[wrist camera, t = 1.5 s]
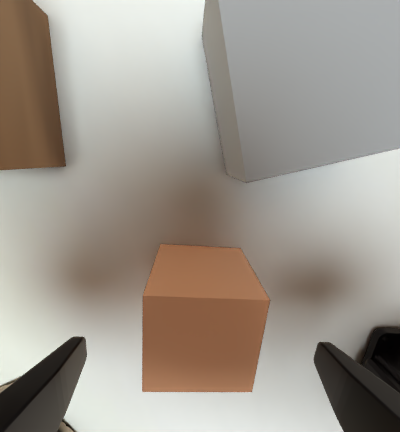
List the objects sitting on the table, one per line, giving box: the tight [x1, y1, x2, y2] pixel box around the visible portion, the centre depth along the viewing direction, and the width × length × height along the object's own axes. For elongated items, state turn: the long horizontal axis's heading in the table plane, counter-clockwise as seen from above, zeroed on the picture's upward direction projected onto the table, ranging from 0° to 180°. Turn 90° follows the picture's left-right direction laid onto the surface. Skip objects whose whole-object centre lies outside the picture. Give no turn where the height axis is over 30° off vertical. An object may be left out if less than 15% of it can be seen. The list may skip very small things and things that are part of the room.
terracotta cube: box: [142, 244, 270, 392], centre depth 10 cm, size 4×4×4 cm
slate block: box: [202, 0, 400, 183], centre depth 8 cm, size 6×6×4 cm
